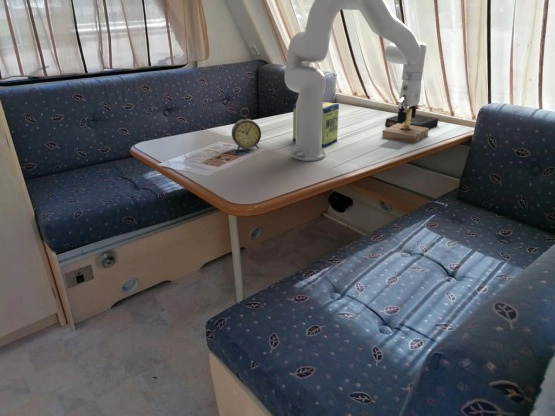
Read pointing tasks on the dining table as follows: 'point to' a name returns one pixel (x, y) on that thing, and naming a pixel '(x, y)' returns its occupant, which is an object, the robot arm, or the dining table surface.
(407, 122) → the pin
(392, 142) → the mat
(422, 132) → the block
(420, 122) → the portable cd player
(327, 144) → the protein box
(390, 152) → the dining table surface
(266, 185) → the dining table surface
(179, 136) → the dining table surface
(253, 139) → the alarm clock
